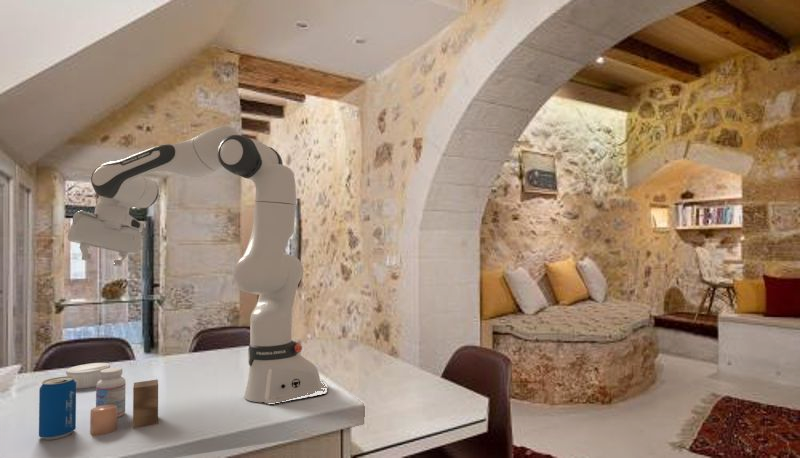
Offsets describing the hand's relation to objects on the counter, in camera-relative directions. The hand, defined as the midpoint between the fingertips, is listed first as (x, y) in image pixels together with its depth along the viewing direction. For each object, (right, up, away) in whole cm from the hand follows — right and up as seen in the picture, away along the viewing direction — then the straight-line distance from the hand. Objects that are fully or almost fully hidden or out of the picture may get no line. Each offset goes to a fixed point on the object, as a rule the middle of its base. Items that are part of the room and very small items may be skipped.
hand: (102, 263), depth 134 cm
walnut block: (+29, -35, -28) cm, 53 cm away
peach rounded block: (+22, -35, -33) cm, 53 cm away
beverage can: (+13, -35, -35) cm, 51 cm away
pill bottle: (+18, -36, -24) cm, 46 cm away
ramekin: (-7, -38, +4) cm, 38 cm away
